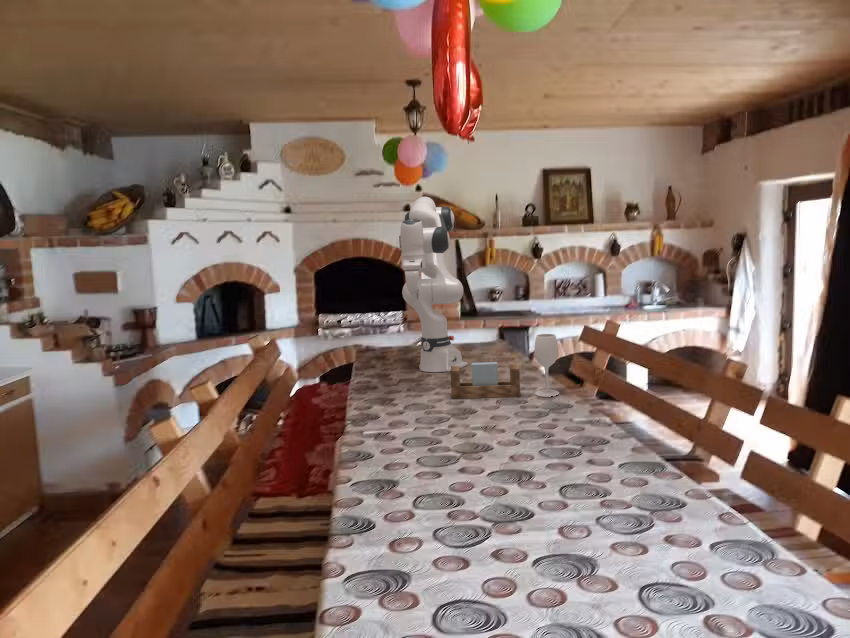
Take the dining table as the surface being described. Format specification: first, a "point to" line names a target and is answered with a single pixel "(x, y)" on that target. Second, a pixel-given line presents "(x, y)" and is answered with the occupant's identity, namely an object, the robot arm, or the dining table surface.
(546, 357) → the wineglass
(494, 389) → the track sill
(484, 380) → the door panel
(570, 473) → the dining table surface
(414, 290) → the robot arm
